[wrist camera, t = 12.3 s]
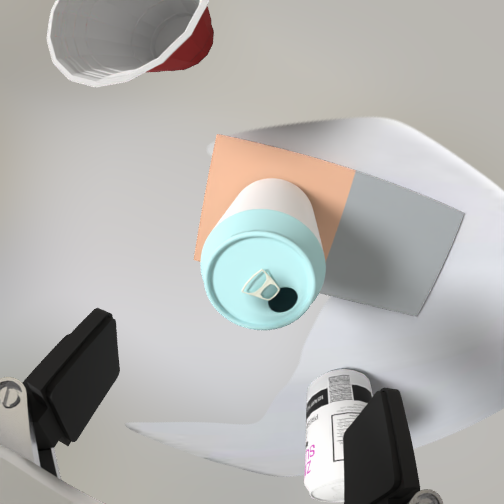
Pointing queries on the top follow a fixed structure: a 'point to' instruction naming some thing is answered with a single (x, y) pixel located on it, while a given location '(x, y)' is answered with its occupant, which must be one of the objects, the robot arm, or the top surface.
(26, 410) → the robot arm
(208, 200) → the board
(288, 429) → the top surface
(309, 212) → the can
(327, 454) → the supplement can
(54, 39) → the plastic cup
